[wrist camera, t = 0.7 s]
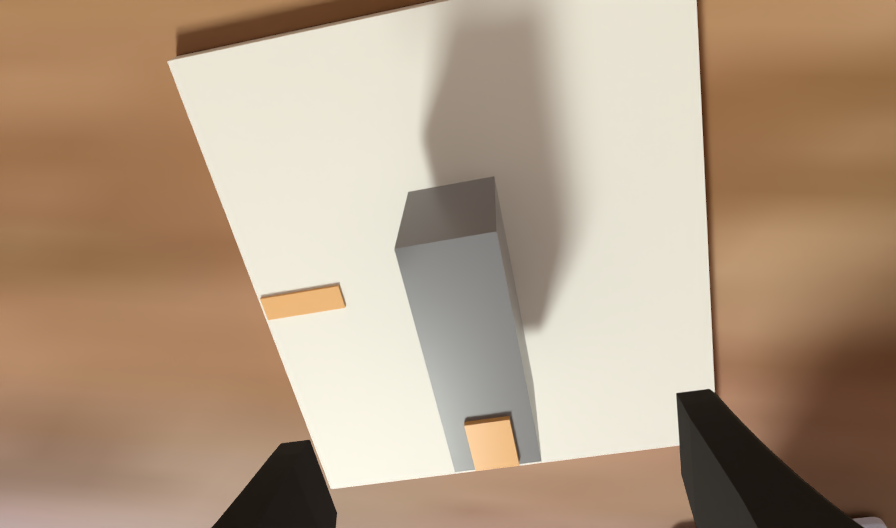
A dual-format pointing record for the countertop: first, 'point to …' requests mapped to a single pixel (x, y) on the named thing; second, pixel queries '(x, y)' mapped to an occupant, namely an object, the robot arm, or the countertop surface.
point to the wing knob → (469, 323)
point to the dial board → (521, 202)
